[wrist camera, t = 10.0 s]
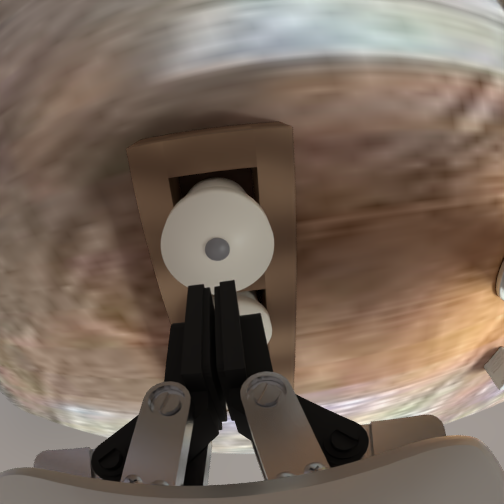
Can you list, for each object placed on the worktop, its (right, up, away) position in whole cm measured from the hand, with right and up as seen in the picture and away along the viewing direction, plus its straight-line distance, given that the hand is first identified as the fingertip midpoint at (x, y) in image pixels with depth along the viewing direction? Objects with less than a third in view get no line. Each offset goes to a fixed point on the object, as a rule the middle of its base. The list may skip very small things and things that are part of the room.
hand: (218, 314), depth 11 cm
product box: (+54, -20, +34) cm, 67 cm away
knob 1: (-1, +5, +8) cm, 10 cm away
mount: (-1, -1, +16) cm, 16 cm away
